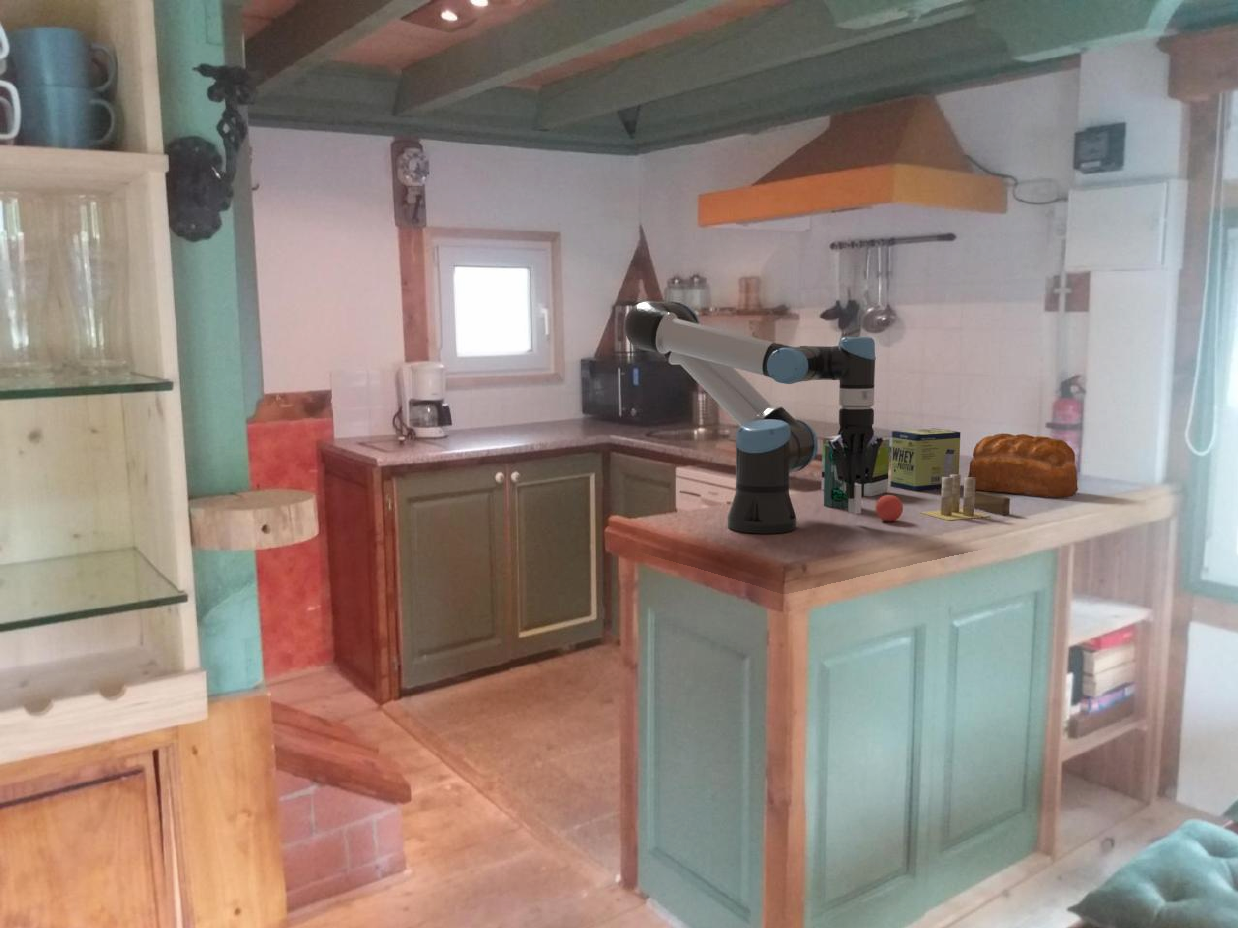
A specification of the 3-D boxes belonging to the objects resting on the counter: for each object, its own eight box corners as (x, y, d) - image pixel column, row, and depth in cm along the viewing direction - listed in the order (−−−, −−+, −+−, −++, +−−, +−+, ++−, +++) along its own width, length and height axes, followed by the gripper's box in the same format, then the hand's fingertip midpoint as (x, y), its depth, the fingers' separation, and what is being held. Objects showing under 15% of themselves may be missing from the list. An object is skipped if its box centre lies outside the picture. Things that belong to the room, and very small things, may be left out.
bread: (1063, 500, 246) (1067, 440, 244) (961, 489, 264) (964, 433, 262) (1081, 493, 256) (1084, 435, 254) (982, 483, 274) (984, 429, 272)
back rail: (1002, 515, 227) (1003, 498, 226) (972, 508, 236) (973, 492, 235) (1009, 514, 227) (1009, 498, 227) (979, 507, 237) (980, 491, 236)
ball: (885, 524, 218) (886, 498, 217) (869, 519, 223) (870, 493, 222) (907, 522, 220) (908, 496, 219) (891, 517, 225) (892, 492, 225)
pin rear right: (967, 517, 225) (969, 479, 224) (960, 515, 227) (962, 477, 226) (976, 516, 226) (977, 478, 224) (968, 514, 228) (970, 477, 227)
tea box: (820, 491, 263) (821, 436, 261) (839, 486, 270) (840, 433, 268) (870, 497, 253) (872, 440, 251) (889, 492, 260) (890, 437, 258)
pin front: (945, 516, 226) (946, 478, 224) (938, 515, 228) (939, 477, 227) (953, 516, 227) (955, 478, 225) (946, 514, 229) (948, 476, 227)
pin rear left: (953, 513, 229) (954, 476, 228) (946, 512, 232) (947, 474, 230) (961, 513, 230) (962, 475, 229) (954, 511, 233) (956, 474, 231)
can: (838, 508, 237) (839, 447, 235) (819, 505, 242) (820, 445, 240) (854, 506, 240) (856, 445, 238) (835, 502, 245) (837, 443, 243)
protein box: (889, 486, 270) (890, 430, 268) (932, 482, 276) (934, 427, 274) (915, 492, 260) (917, 434, 258) (959, 487, 267) (962, 431, 265)
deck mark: (948, 520, 221) (948, 519, 221) (920, 513, 231) (920, 512, 231) (990, 516, 226) (990, 515, 226) (960, 509, 235) (961, 508, 235)
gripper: (840, 409, 209) (839, 517, 212) (891, 407, 213) (889, 512, 217) (821, 407, 216) (820, 511, 219) (871, 405, 220) (869, 507, 224)
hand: (854, 512), depth 218 cm, fingers closed
